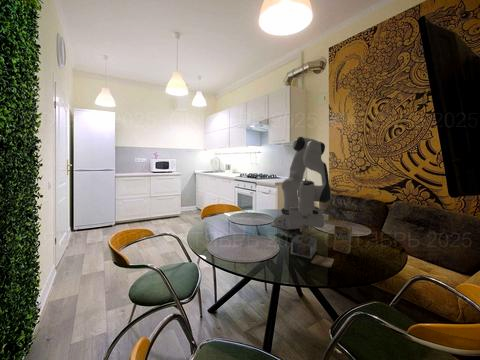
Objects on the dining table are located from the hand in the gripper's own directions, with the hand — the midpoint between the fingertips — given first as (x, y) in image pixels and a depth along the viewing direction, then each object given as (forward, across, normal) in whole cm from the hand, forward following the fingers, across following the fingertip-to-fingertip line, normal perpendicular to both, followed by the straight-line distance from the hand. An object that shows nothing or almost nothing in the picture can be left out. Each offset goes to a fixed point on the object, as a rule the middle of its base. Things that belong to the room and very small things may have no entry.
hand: (305, 232), depth 135 cm
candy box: (+13, +19, +14) cm, 26 cm away
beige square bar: (+6, 0, 0) cm, 6 cm away
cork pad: (+12, +12, -6) cm, 18 cm away
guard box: (+12, 0, 0) cm, 12 cm away
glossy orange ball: (+9, 0, 0) cm, 9 cm away
